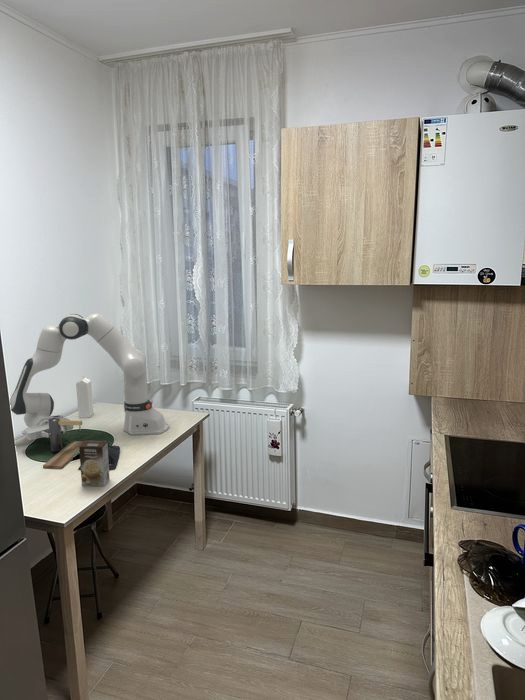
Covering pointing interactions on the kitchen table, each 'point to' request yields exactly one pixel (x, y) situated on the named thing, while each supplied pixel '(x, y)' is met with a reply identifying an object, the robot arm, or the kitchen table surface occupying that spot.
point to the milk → (84, 398)
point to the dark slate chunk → (111, 456)
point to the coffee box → (94, 463)
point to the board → (63, 456)
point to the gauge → (59, 431)
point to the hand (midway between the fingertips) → (56, 434)
